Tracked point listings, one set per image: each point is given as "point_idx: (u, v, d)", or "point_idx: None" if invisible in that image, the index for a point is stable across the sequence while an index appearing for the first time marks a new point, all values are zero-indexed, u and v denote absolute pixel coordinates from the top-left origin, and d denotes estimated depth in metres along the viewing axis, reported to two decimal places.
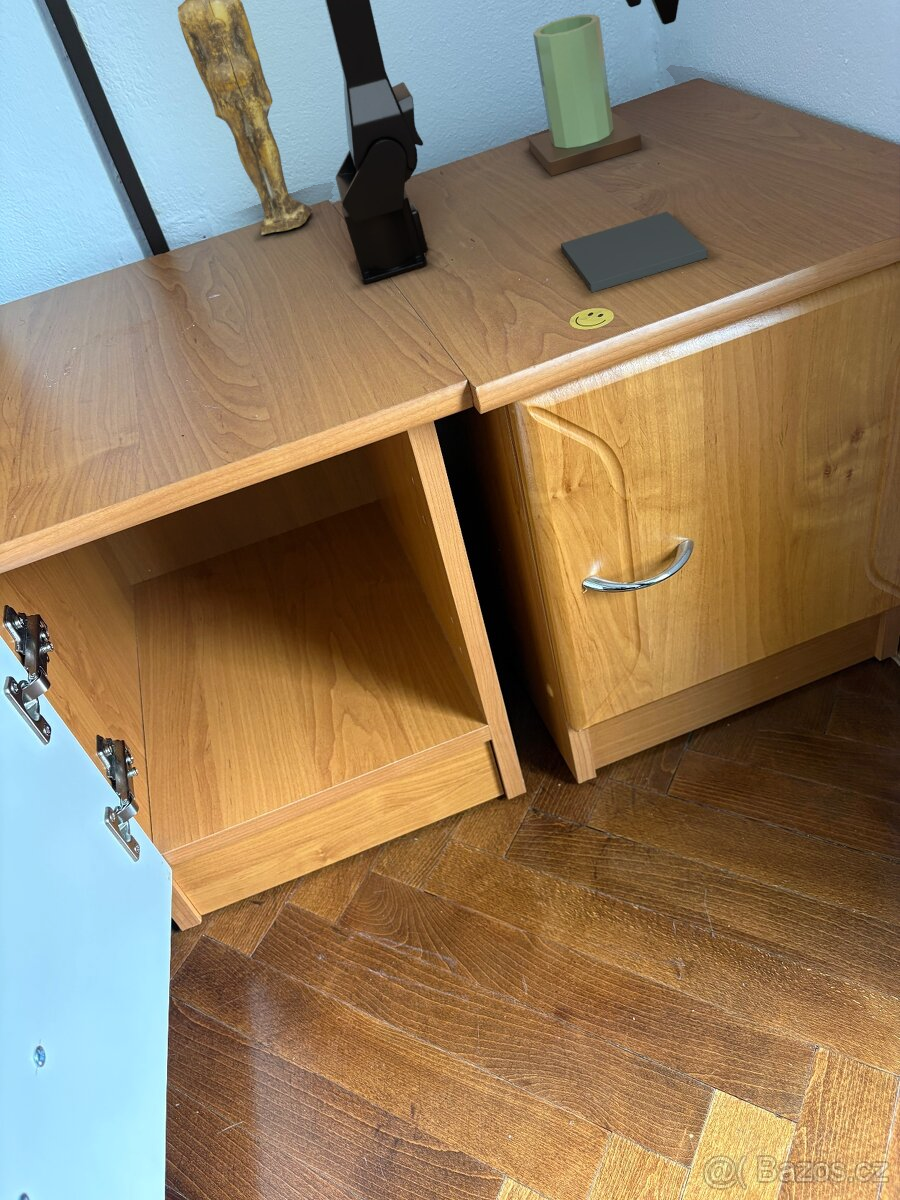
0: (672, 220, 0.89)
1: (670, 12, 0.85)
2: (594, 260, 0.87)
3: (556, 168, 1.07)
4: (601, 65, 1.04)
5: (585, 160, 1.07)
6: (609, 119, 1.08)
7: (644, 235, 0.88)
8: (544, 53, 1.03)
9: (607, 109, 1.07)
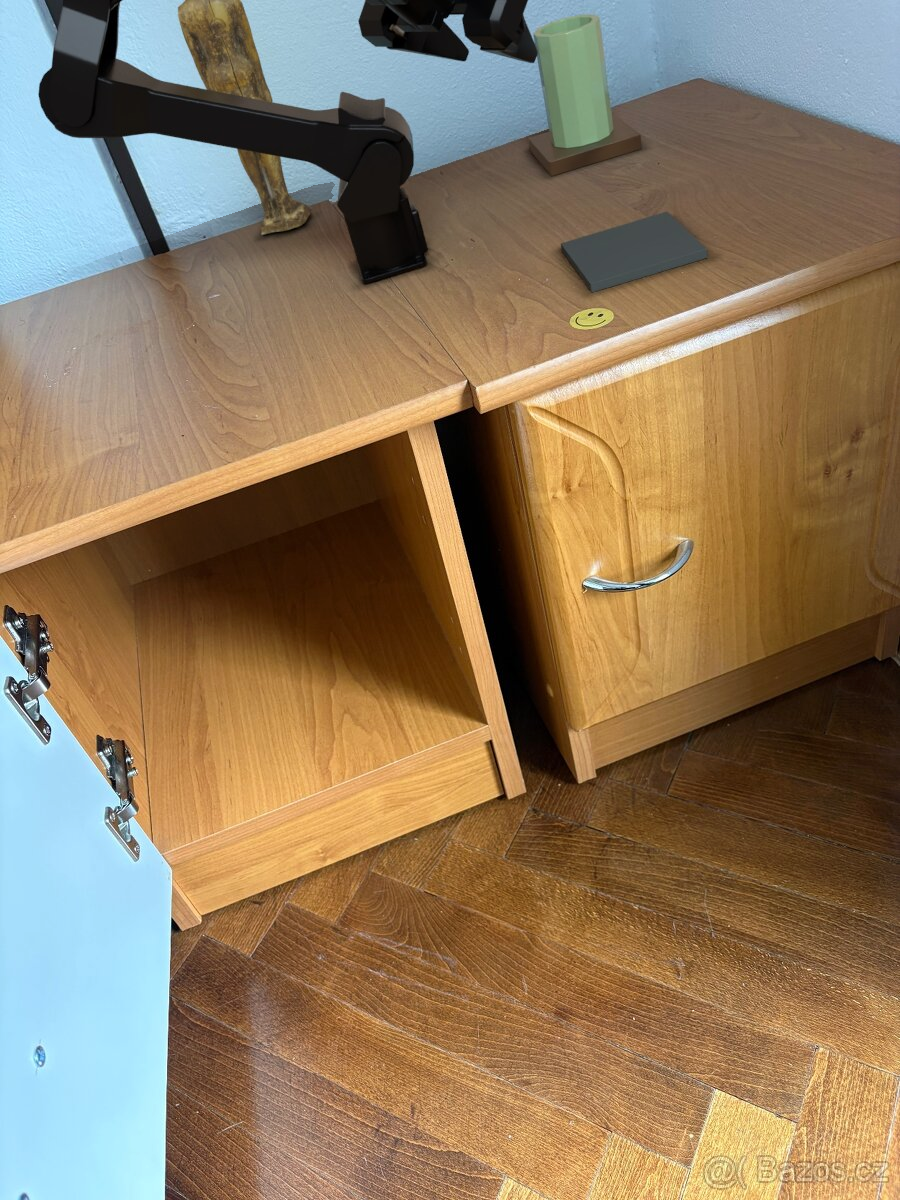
0: (672, 220, 0.89)
1: (533, 51, 0.91)
2: (594, 260, 0.87)
3: (556, 168, 1.07)
4: (601, 65, 1.04)
5: (585, 160, 1.07)
6: (609, 119, 1.08)
7: (644, 235, 0.88)
8: (544, 53, 1.03)
9: (607, 109, 1.07)
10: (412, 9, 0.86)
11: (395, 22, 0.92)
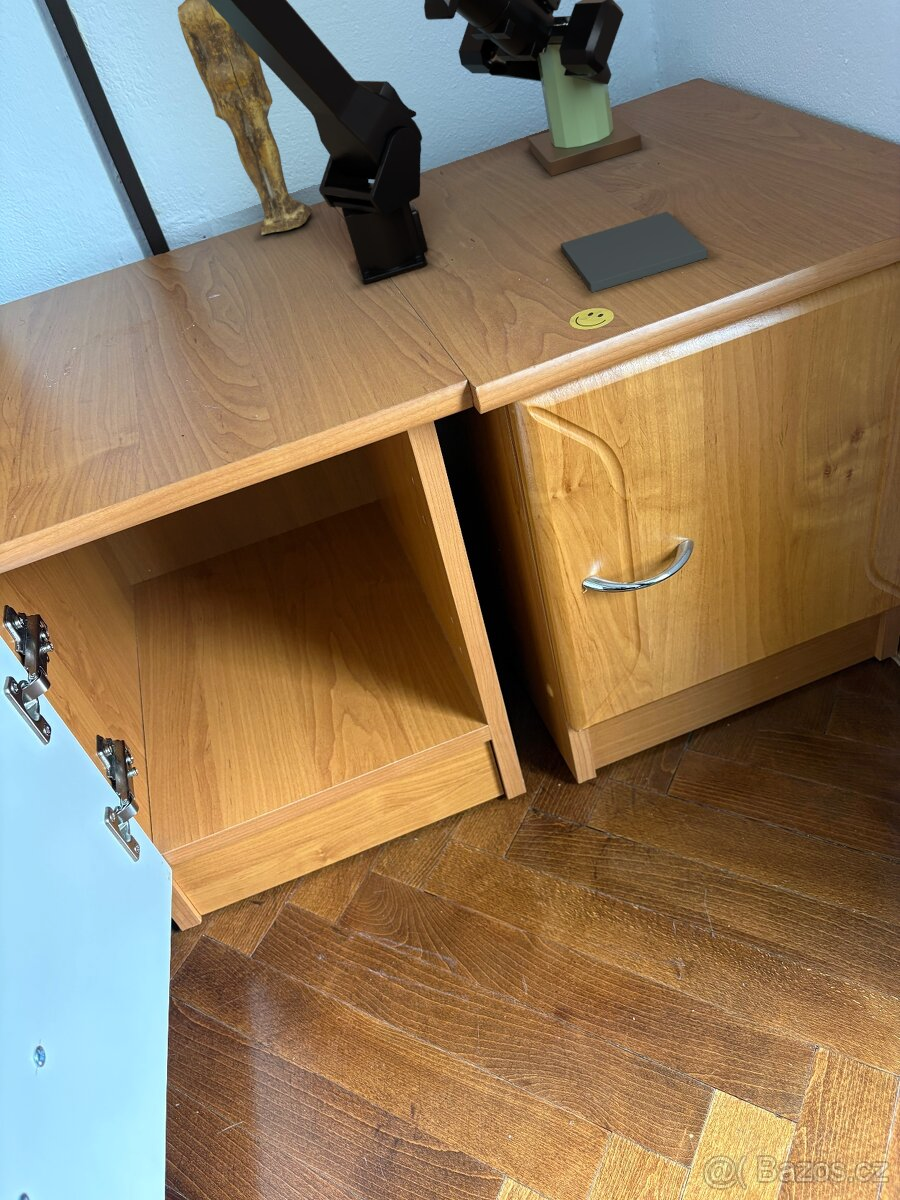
0: (672, 220, 0.89)
1: (607, 74, 1.04)
2: (594, 260, 0.87)
3: (556, 168, 1.07)
4: None
5: (585, 160, 1.07)
6: (609, 119, 1.08)
7: (644, 235, 0.88)
8: None
9: (607, 109, 1.07)
10: (514, 42, 0.98)
11: None
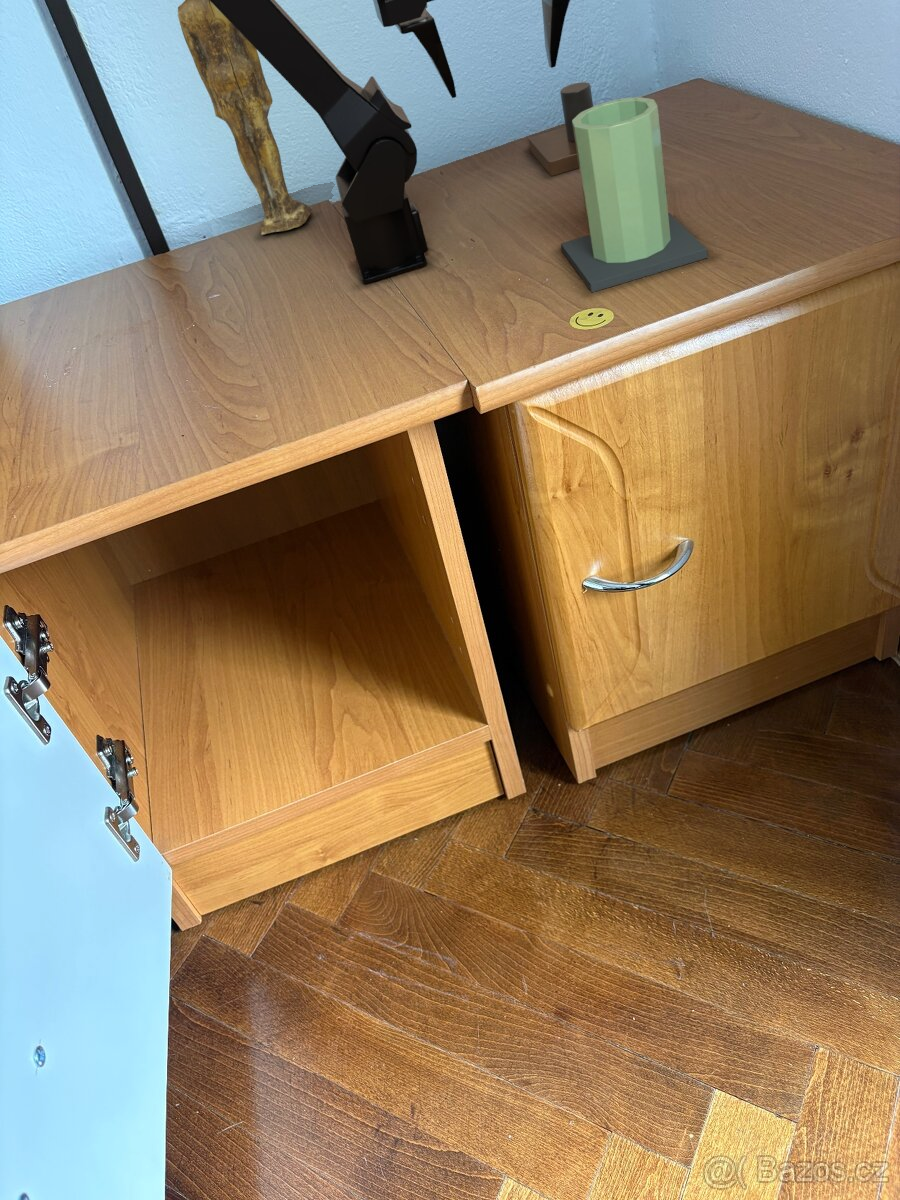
0: (672, 220, 0.89)
1: None
2: (594, 260, 0.87)
3: (556, 168, 1.07)
4: (618, 180, 0.80)
5: None
6: (631, 245, 0.84)
7: None
8: None
9: (629, 232, 0.83)
10: None
11: None
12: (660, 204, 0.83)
